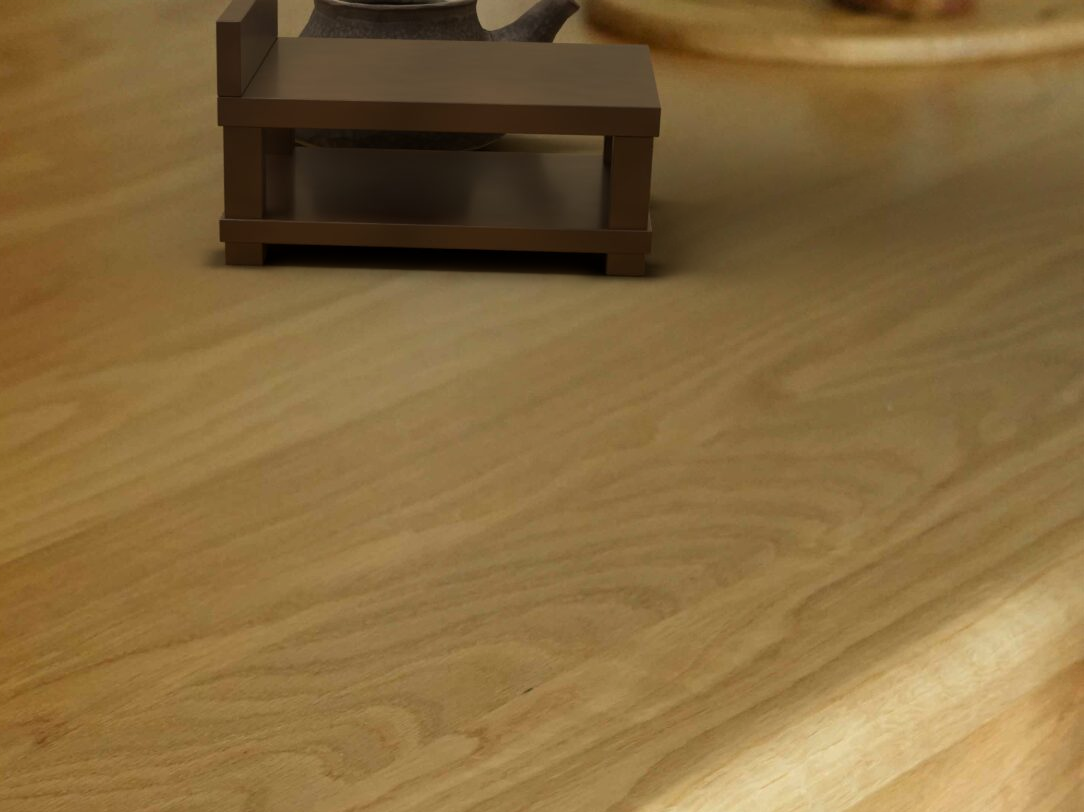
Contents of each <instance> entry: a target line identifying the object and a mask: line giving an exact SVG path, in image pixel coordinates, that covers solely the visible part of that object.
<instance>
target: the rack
mask: <svg viewBox="0 0 1084 812" xmlns="http://www.w3.org/2000/svg"><path fill="white" fill-rule="evenodd" d="M215 52H216V53H215V55H216V56H215V57H216V62H215V63H216V95H217V97H216V110H217V111H216V112H217V113H216V114H217V115H216V117H217V118H216V119H217V126H218V127H222V143H223V144H222V146H223V147H222V149H223V150H222V151H223V153H222V156H223V157H222V159H223V212H222V214H221V215H220V218H219V220H218V230H219V232H218V235H219V237H218V238H219V242H220V243H224V265H227V266H228V265H231V266H259V267H260V266H261V267H262V266H264V264H265V260H266V258H267V256H268V253H267V252H268V245H267V244H269V245H272V244H273V245H303V246H305V245H306V246H335V247H336V246H341V247H370V248H373V247H374V248H405V249H407V248H409V249H410V248H411V249H440V250H442V249H444V250H449V249H450V250H474V251H475V250H478V251H480V250H482V251H509V252H510V251H515V252H548V253H551V252H552V253H583V254H584V253H586V254H605V260H604V267H605V268H604V269H605V275H606V276H609V277H612V276H613V277H644V276H645V273H646V272H645V271H646V260H647V259H646V258H647V255H651V254H652V246H653V227H652V220H651V214H650V213H651V212H650V202H651V201H650V200H651V188H652V187H651V186H652V173H653V172H652V170H653V159H654V158H653V157H654V142H655V138H659V137H660V134H661V133H660V132H661V131H660V130H661V118H662V106H661V101H660V95H659V90H658V86H657V81H656V76H655V71H654V66H653V62H652V61H653V60H652V57H651V51H650V47H649V44H629V43H626V44H623V43H579V42H577V43H576V42H573V43H572V42H553V43H537V42H491V41H446V40H400V39H354V38H308V37H298V36H279V0H231V1H230V2H229V4H228V5H227V6H226V8H225V9H224V10H223V11H222V13H221V14H220V15H219V17H218V18H217V19H216V20H215ZM295 128H306V129H347V130H387V131H428V132H468V133H506V134H513V135H549V136H550V135H551V136H552V135H554V136H555V135H556V136H557V135H558V136H593V137H594V136H595V137H596V136H597V137H603V141H602V154H598V153H597V154H596V153H595V154H591V153H560V152H559V153H558V152H557V153H555V152H518V151H517V152H515V151H481V150H480V151H478V150H477V151H476V150H472V151H441V150H402V149H362V148H323V147H306V146H296V142H295Z"/></svg>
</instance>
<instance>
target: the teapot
mask: <svg viewBox="0 0 1084 812" xmlns="http://www.w3.org/2000/svg"><path fill="white" fill-rule="evenodd" d="M477 4H478V0H313V5H314V7H313V9H312V10H311V11H312V12H311V14H310V16H309V19H308V21H307V23H306V24H305V25H304V27H303V28H302V30H301V32H300V33H299V34H298V36H297V37H308V38H354V39H400V40H446V41H491V42H537V43H554V40H555V38H556V36H557V35H558V33H559V32H560V30H561V29H562V27H563V26H564V25H565V23H566V22H567V20H568V19H570V18H571V17H572V16H573V15H574V14H576V13H577V12H578V11H580V9H581V6H580V4H579V3H578V2H577V1H576V0H539V1H538V2H536V3H535V4H534V5H532V6H531V7H530V8H529V9H527V10H526V11H525V12H524V13H522V14H521V15H520V16H519V17H518V18H516V19H515V20H514V21H512V22H510V23H508V24H506V25H504V26H503V27H500V28H497V29H492V30H488V29H486V28H485V27H483V25H482V24H481V22H480V20H479V16H478V12H477V11H478V10H477ZM506 134H507V133H468V132H428V131H387V130H347V129H306V128H295V143H296V144H299V145H301V146H303V147H323V148H362V149H402V150H441V151H476V150H480V149H481V148H484V147H486V146H489V145H490V144H492V143H495V142H498V141H499V140H501V139H502V138H503V137H505V135H506Z"/></svg>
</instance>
